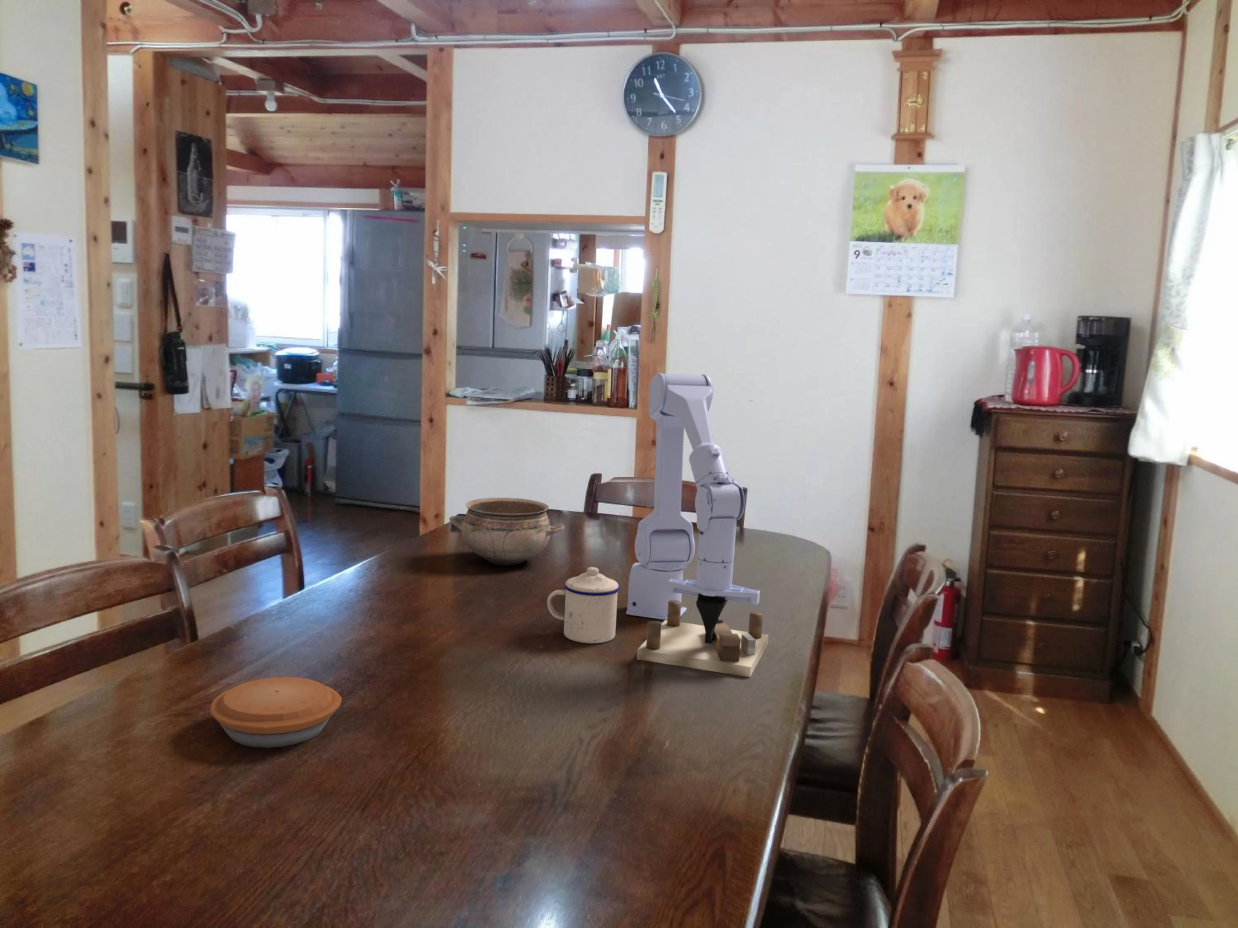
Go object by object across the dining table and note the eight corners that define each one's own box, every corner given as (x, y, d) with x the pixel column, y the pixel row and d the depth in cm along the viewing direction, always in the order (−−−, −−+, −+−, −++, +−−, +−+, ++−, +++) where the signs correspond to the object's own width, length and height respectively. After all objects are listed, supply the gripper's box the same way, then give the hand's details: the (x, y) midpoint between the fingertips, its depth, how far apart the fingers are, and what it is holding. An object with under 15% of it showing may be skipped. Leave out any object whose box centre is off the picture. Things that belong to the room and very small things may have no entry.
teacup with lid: (620, 630, 172) (624, 564, 171) (611, 647, 163) (615, 577, 162) (552, 623, 174) (555, 557, 173) (539, 639, 165) (542, 570, 164)
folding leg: (706, 632, 168) (707, 612, 168) (723, 632, 169) (724, 612, 168) (721, 660, 155) (722, 639, 154) (739, 661, 155) (740, 639, 154)
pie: (266, 768, 115) (266, 726, 115) (183, 732, 124) (182, 693, 123) (366, 725, 128) (367, 688, 128) (285, 696, 137) (285, 660, 136)
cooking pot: (571, 556, 222) (573, 502, 220) (553, 577, 204) (556, 518, 202) (461, 546, 226) (463, 493, 224) (434, 567, 207) (436, 509, 205)
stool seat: (636, 659, 158) (638, 624, 157) (664, 628, 174) (666, 597, 174) (750, 676, 153) (752, 641, 152) (767, 644, 169) (770, 611, 168)
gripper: (664, 558, 157) (659, 642, 159) (756, 569, 153) (750, 655, 155) (675, 549, 164) (670, 629, 166) (764, 560, 160) (758, 642, 161)
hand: (709, 641), depth 161 cm, fingers closed, pressing on folding leg
